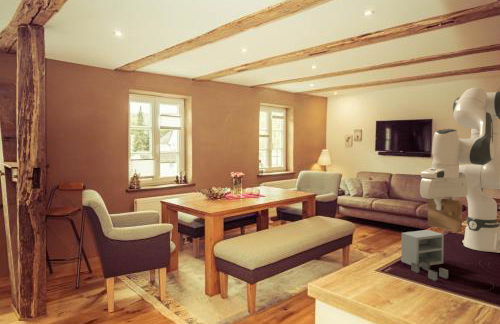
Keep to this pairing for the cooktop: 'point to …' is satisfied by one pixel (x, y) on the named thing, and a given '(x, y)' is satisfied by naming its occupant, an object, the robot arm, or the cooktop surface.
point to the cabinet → (422, 247)
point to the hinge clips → (431, 273)
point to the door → (445, 215)
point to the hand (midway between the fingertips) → (444, 209)
